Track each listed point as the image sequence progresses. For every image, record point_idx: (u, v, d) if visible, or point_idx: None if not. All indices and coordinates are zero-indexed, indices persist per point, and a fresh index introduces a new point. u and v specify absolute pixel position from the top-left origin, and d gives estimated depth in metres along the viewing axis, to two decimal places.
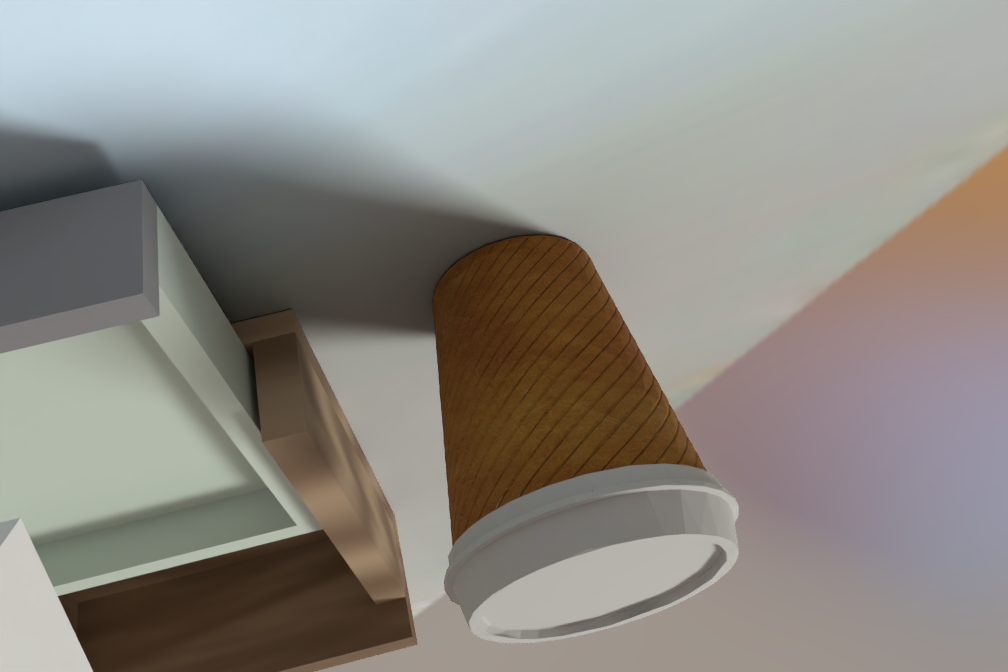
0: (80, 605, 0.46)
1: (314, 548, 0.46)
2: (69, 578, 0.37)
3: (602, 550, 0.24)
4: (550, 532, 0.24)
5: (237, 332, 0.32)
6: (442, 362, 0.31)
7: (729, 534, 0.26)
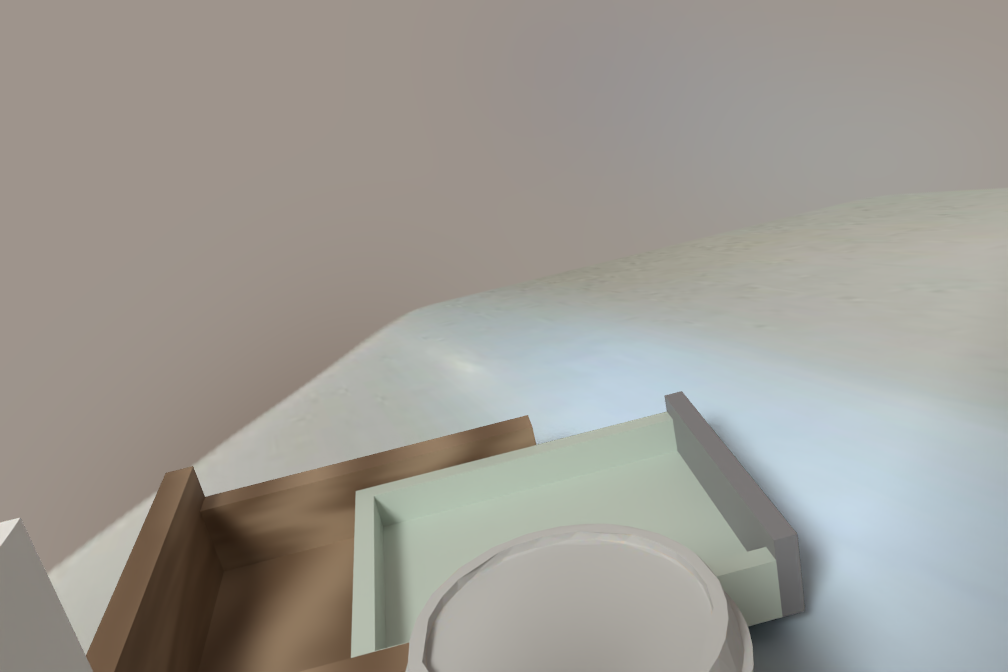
0: (222, 570, 0.49)
1: None
2: (374, 528, 0.45)
3: (708, 576, 0.24)
4: None
5: None
6: None
7: None
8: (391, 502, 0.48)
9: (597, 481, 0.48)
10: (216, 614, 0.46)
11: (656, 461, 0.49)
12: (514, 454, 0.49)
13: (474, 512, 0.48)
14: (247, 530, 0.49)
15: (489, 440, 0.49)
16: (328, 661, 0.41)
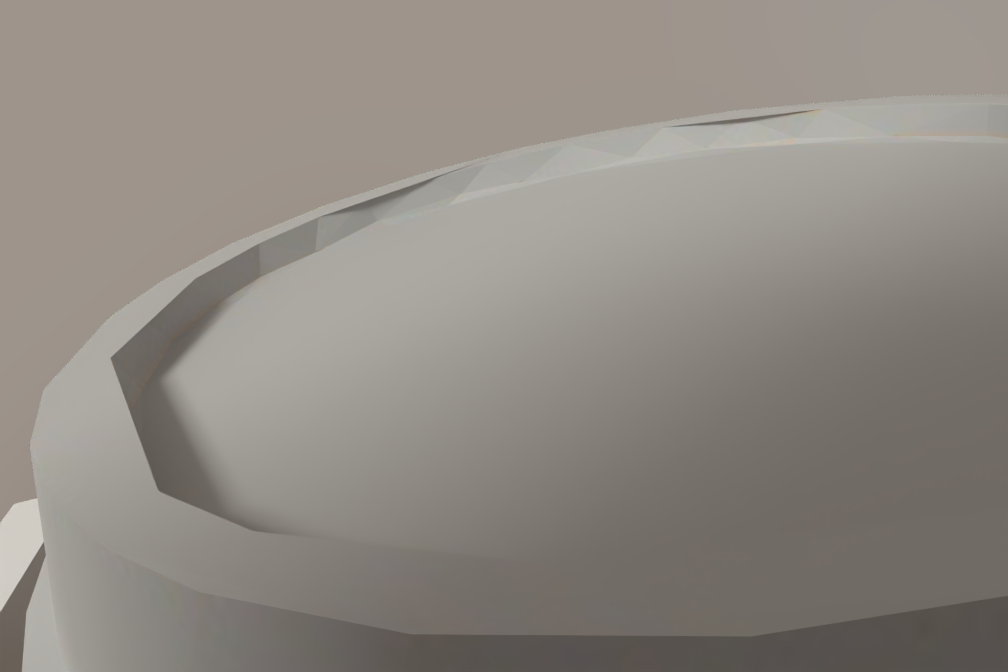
0: None
1: None
2: None
3: None
4: None
5: None
6: None
7: None
8: None
9: None
10: None
11: None
12: None
13: None
14: None
15: None
16: None
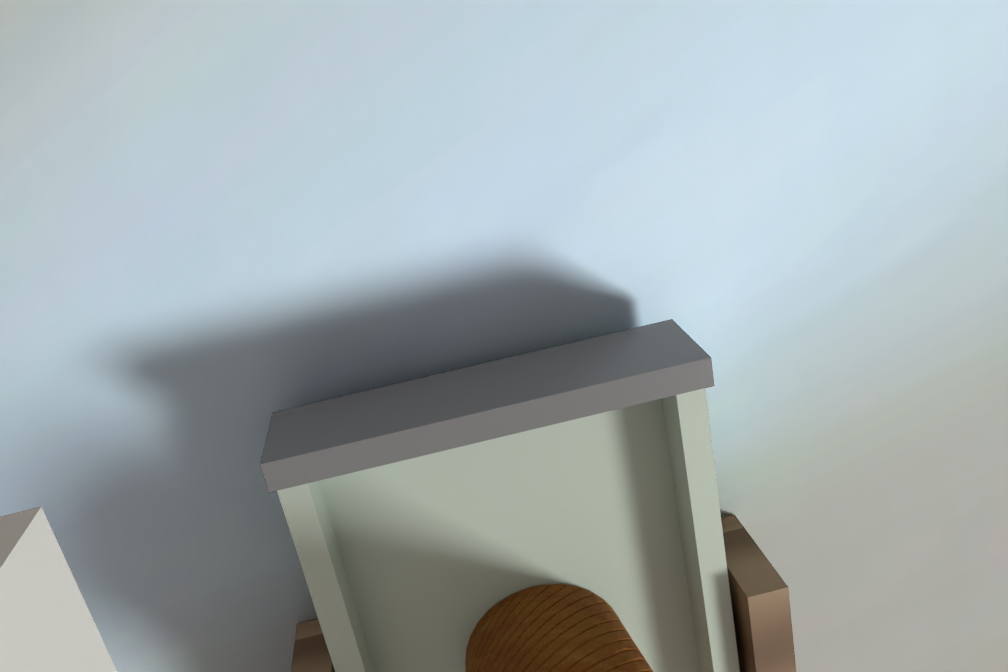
0: None
1: None
2: None
3: None
4: None
5: None
6: None
7: None
8: None
9: (369, 554, 0.32)
10: None
11: None
12: None
13: None
14: None
15: None
16: None
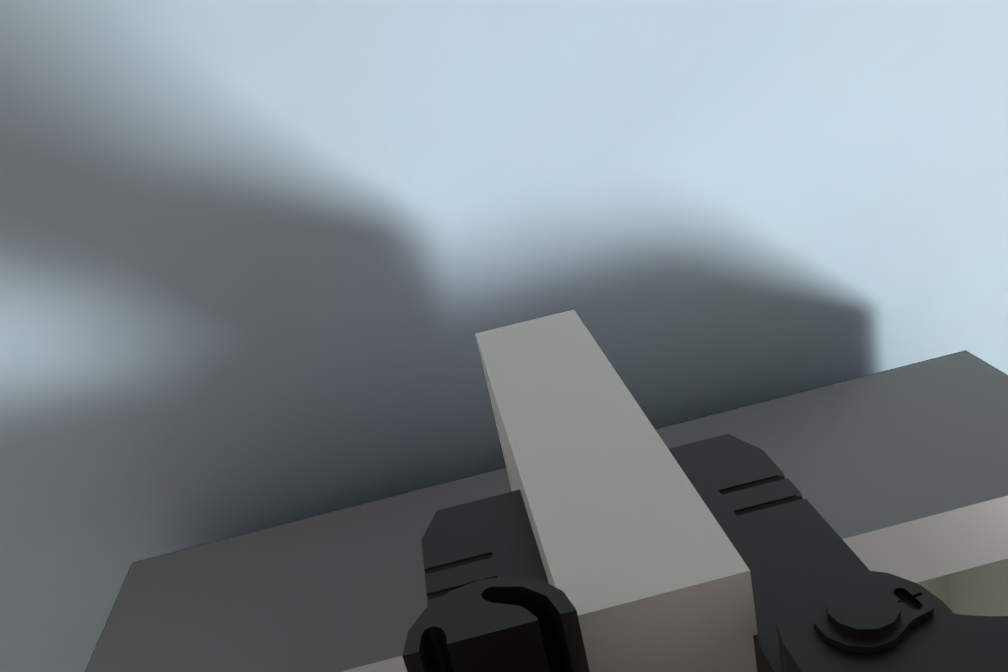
0: None
1: None
2: None
3: None
4: None
5: None
6: None
7: None
8: None
9: None
10: None
11: None
12: None
13: None
14: None
15: None
16: None
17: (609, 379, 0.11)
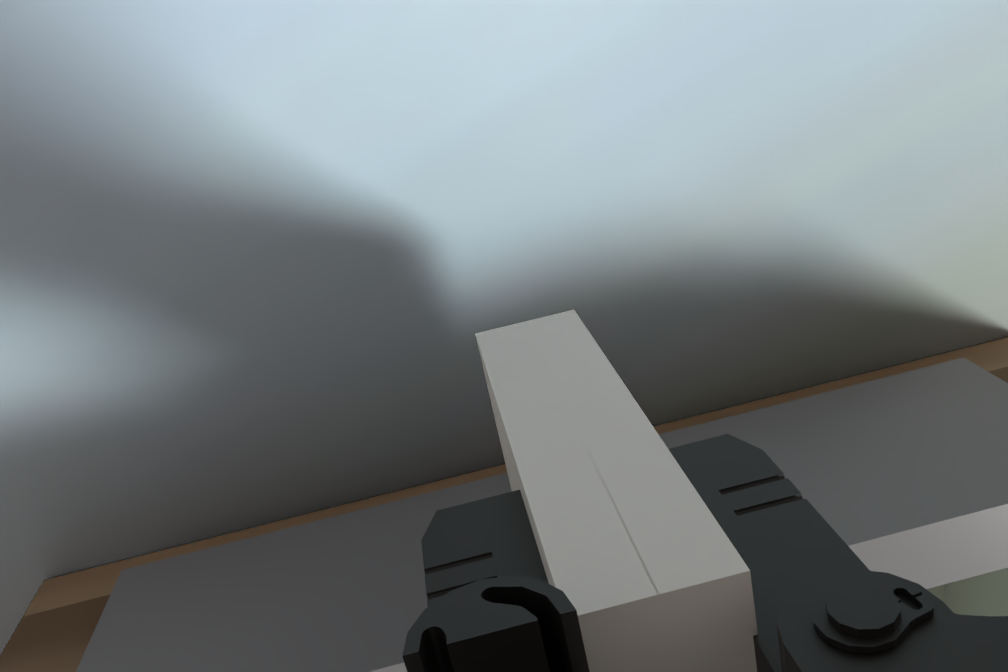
0: None
1: None
2: None
3: None
4: None
5: None
6: None
7: None
8: None
9: None
10: None
11: None
12: None
13: None
14: None
15: None
16: None
17: (608, 379, 0.11)
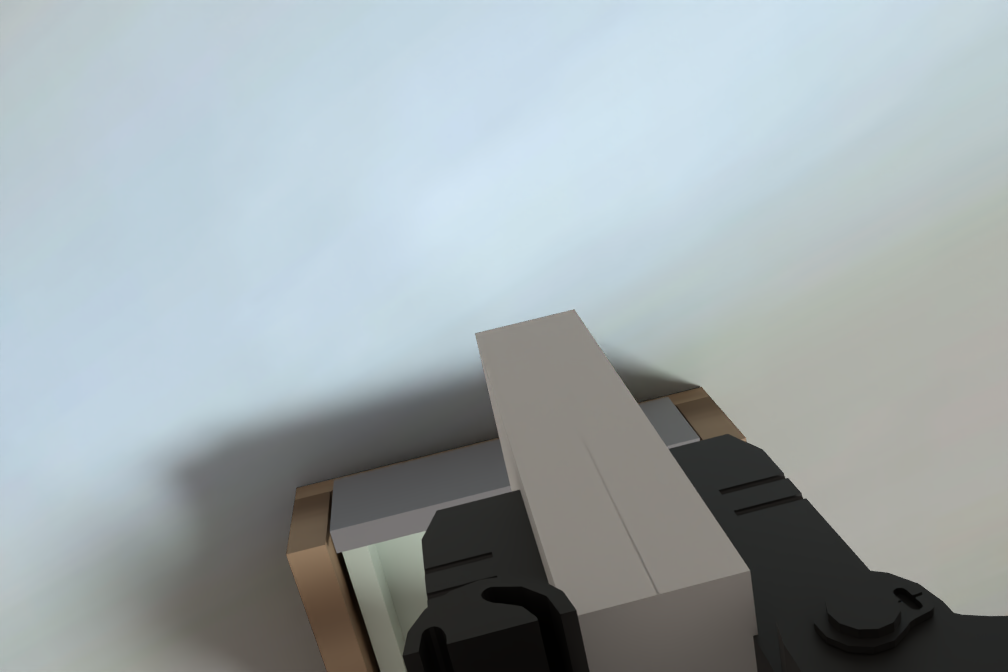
0: None
1: None
2: None
3: None
4: None
5: None
6: None
7: None
8: None
9: (414, 595, 0.38)
10: None
11: None
12: None
13: None
14: None
15: (342, 594, 0.35)
16: None
17: (609, 379, 0.11)
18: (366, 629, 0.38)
